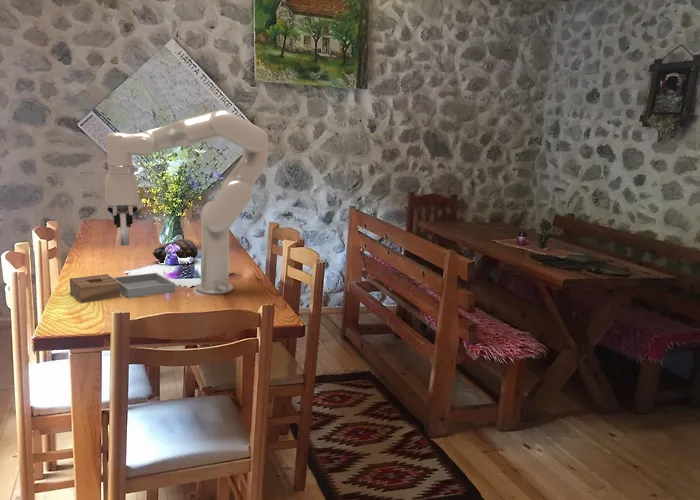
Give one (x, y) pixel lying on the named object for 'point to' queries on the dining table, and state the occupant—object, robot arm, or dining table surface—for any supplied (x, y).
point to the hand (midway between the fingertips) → (123, 226)
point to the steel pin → (123, 224)
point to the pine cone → (185, 251)
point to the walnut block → (94, 288)
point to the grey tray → (144, 285)
